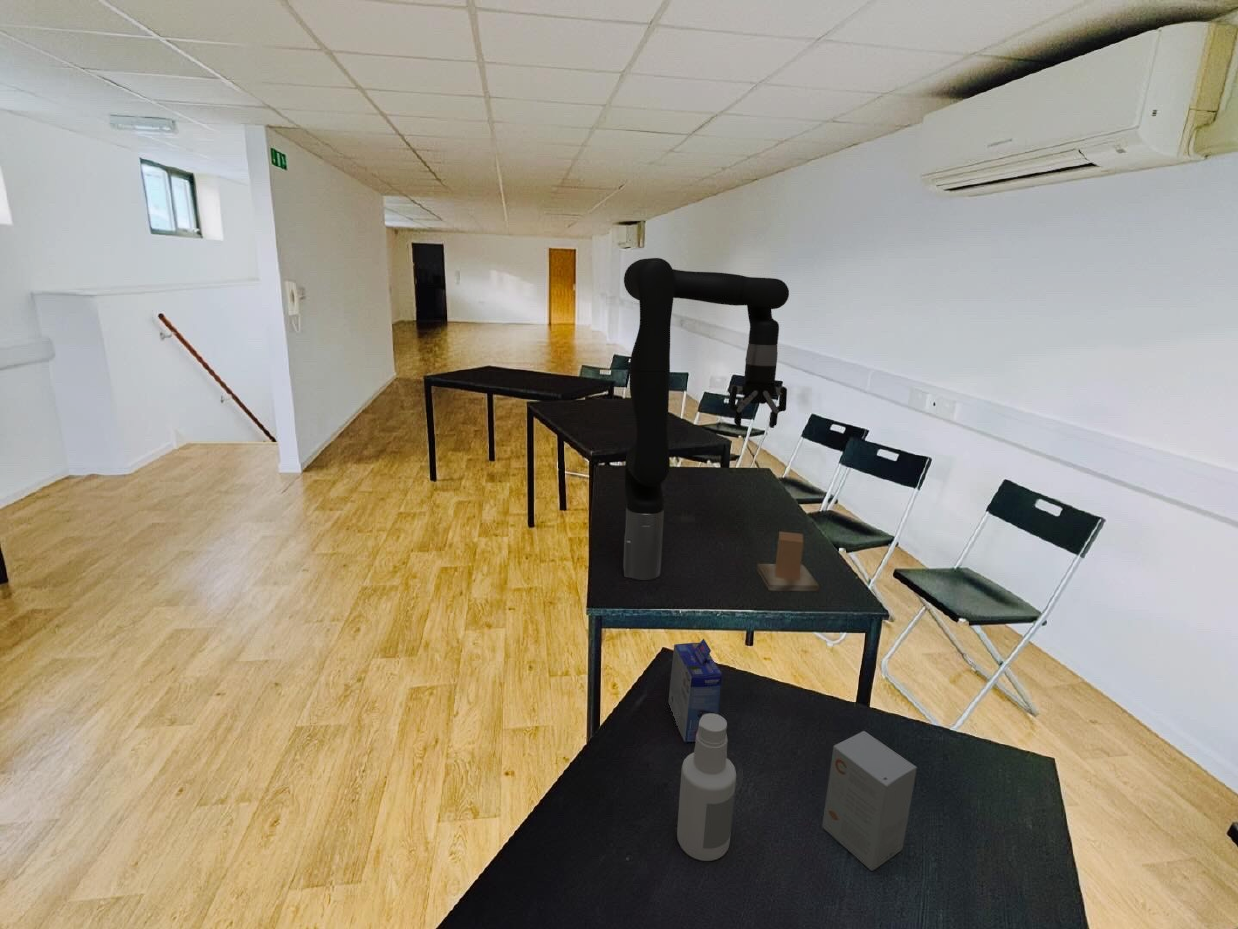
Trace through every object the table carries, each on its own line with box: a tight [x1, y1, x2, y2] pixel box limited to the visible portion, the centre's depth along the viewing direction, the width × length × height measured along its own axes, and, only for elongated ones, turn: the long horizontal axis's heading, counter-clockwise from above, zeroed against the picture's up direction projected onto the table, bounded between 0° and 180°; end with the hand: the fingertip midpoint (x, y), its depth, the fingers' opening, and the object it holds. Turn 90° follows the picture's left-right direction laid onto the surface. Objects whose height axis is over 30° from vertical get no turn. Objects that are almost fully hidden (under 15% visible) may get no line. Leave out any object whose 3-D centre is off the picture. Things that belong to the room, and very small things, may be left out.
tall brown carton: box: [775, 531, 804, 580], centre depth 156 cm, size 6×6×10 cm
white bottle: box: [676, 713, 737, 862], centre depth 80 cm, size 7×7×18 cm
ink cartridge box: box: [667, 638, 723, 743], centre depth 103 cm, size 10×6×14 cm, turn 12°
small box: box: [821, 730, 918, 872], centre depth 82 cm, size 8×6×13 cm
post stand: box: [756, 563, 820, 592], centre depth 157 cm, size 12×12×8 cm
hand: (755, 426), depth 160 cm, fingers open, 8 cm apart
